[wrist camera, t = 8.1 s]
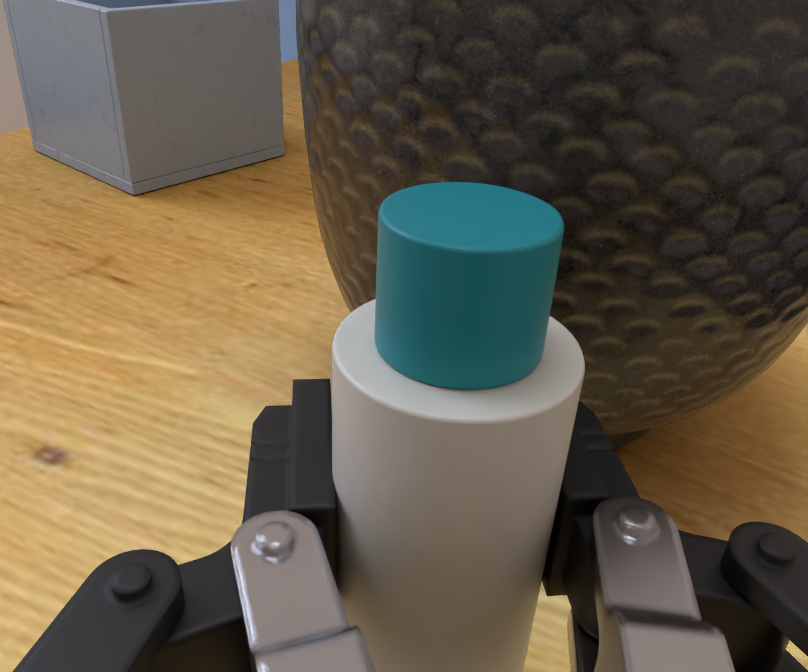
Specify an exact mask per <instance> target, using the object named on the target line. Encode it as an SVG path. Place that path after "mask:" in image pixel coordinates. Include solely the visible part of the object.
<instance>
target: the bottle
mask: <svg viewBox="0 0 808 672" xmlns="http://www.w3.org/2000/svg"><path fill="white" fill-rule="evenodd" d="M563 234H564V222H563V219H562V217H561V215H560V213H559V212H558V211H557V210H556V209H555V208H554V207H552V206H551V205H550V204H548V203H546V202H545V201H543V200H541V199H539V198H537V197H534V196H532V195H529V194H526V193H523V192H520V191H517V190H513V189H510V188H505V187H501V186H495V185H489V184H481V183H470V182H439V183H429V184H422V185H417V186H412V187H409V188H405V189H402V190H399V191H397V192H395V193H393V194H391V195H390V196H388V197H387V198H386V199H385V200H384V201H383V203H382V204H381V206H380V208H379V212H378V240H377V272H376V299H374V300H372V301H370V302H368V303H365V304H363V305H362V306H360V307H359V308H357V309H355V310H354V311H353V312H351V313H350V314H349V315H348V316H347V317H346V318H345V319H344V320H343V321H342V322H341V324H340V326H339V327H338V329H337V331H336V333H335V335H334V338H333V342H332V474H333V480H334V484H335V504H336V586H337V589H338V592H339V595H340V598H341V601H342V604H343V607H344V610H345V613H346V616H347V619H348V621H349V624H350V626H355V625H357V626H358V627H359V629H360V630H361V632H362V634H363V637H364V639H365V642H366V645H367V648H368V650H369V653H370V656H371V659H372V662H373V665H374V668H375V670H376V672H523V668H524V663H525V658H526V653H527V649H528V644H529V639H530V634H531V629H532V624H533V620H534V615H535V610H536V605H537V600H538V595H539V591H540V586H541V581H542V576H543V571H544V566H545V562H546V557H547V552H548V547H549V542H550V537H551V533H552V528H553V523H554V518H555V513H556V508H557V503H558V499H559V494H560V489H561V484H562V479H563V474H564V470H565V465H566V460H567V455H568V450H569V445H570V441H571V436H572V431H573V426H574V421H575V416H576V412H577V407H578V402H579V397H580V392H581V387H582V383H583V378H584V373H585V361H584V357H583V353H582V350H581V348H580V346H579V344H578V342H577V340H576V339H575V338H574V336H573V335H572V334H571V333H570V332H569V331H568V330H567V329H566V328H565V327H564V326H563V325H562V324H561V323H559V322H558V321H557V320H555V319H554V318H552V317H551V316H550V310H551V304H552V298H553V293H554V287H555V281H556V275H557V269H558V263H559V257H560V251H561V245H562V239H563Z"/></svg>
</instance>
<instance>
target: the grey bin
mask: <svg viewBox="0 0 808 672" xmlns="http://www.w3.org/2000/svg"><path fill="white" fill-rule="evenodd" d="M3 5H4V10H5V14H6V19H7V23H8V28H9V33H10V38H11V42H12V47H13V52H14V56H15V61H16V66H17V71H18V75H19V80H20V84H21V89H22V94H23V98H24V103H25V108H26V113H27V117H28V121H29V127H30V131H31V136H32V139H33V146H34V150H36V151H38V152H40V153H42V154H44V155H47V156H49V157H51V158H53V159H55V160H57V161H60V162H62V163H64V164H66V165H68V166H71V167H73V168H75V169H77V170H79V171H81V172H84V173H86V174H88V175H90V176H92V177H95V178H97V179H99V180H101V181H103V182H106V183H108V184H110V185H112V186H114V187H116V188H119V189H121V190H123V191H125V192H127V193H130V194H132V195H137V194H141V193H145V192H148V191H152V190H156V189H160V188H163V187H167V186H171V185H174V184H178V183H182V182H185V181H189V180H193V179H196V178H200V177H204V176H208V175H211V174H215V173H219V172H222V171H226V170H230V169H233V168H237V167H241V166H244V165H248V164H252V163H256V162H259V161H263V160H267V159H270V158H274V157H278V156H281V155H284V145H283V144H284V129H283V103H282V76H281V50H280V26H279V24H280V23H279V0H3Z"/></svg>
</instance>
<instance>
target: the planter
mask: <svg viewBox="0 0 808 672" xmlns="http://www.w3.org/2000/svg"><path fill="white" fill-rule="evenodd" d="M296 32H297V49H298V60H299V72H300V83H301V94H302V105H303V117H304V128H305V137H306V144H307V152H308V159H309V166H310V173H311V181H312V188H313V195H314V203H315V208H316V213H317V218H318V223H319V228H320V232H321V236H322V240H323V243H324V247H325V250H326V253H327V257H328V260H329V263H330V266H331V268H332V271H333V274H334V276H335V279H336V281H337V284H338V286H339V289H340V291H341V294H342V296H343V299H344V301H345V303H346V305H347V307H348V309H349V311H350V313H351V312H353V311H354V310H355V309H357V308H359V307H360V306H362V305H363V304H365V303H368V302H370V301H372V300H374V299H376V272H377V240H378V212H379V208H380V206H381V204H382V203H383V201H384V200H385V199H386V198H387V197H388V196H390V195H391V194H393V193H395V192H397V191H399V190H402V189H405V188H409V187H412V186H417V185H422V184H429V183H439V182H470V183H481V184H489V185H495V186H501V187H505V188H510V189H513V190H517V191H520V192H523V193H526V194H529V195H532V196H534V197H537V198H539V199H541V200H543V201H545V202H546V203H548V204H550V205H551V206H552V207H554V208H555V209H556V210H557V211H558V212H559V213H560V215H561V217H562V219H563V222H564V234H563V239H562V245H561V251H560V257H559V263H558V269H557V275H556V281H555V287H554V293H553V298H552V304H551V310H550V316H551V317H552V318H554V319H555V320H557V321H558V322H559V323H561V324H562V325H563V326H564V327H565V328H566V329H567V330H568V331H569V332H570V333H571V334H572V335H573V336H574V338H575V339H576V340H577V342H578V344H579V346H580V348H581V350H582V353H583V357H584V361H585V373H584V378H583V383H582V387H581V392H580V397H579V401H581V402H582V403H583V404H584V405H585V406H587V407H588V408H589V409H590V410H591V411H593V412H594V413H595V414H596V416H597V418H598V420H599V422H600V424H601V425H602V427H603V429H604V431H605V435H607V437H608V438H609V440H610V442H611V444H612V449H614V448H617V447H620V446H622V445H625V444H627V443H629V442H632V441H634V440H636V439H637V438H639V437H640V436H642V435H643V434H645V433H646V432H647V431H649V430H650V429H652V428H654V427H658V426H661V425H665V424H669V423H672V422H675V421H678V420H681V419H684V418H686V417H689V416H691V415H693V414H695V413H698V412H700V411H702V410H705V409H707V408H709V407H711V406H713V405H715V404H717V403H719V402H721V401H723V400H725V399H726V398H728V397H730V396H731V395H733V394H735V393H736V392H738V391H739V390H741V389H742V388H744V387H745V386H746V385H748V384H749V383H750V382H752V381H753V380H755V379H756V378H757V377H758V376H759V375H761V374H762V373H763V372H764V371H765V370H766V369H767V368H768V367H770V366H771V365H772V364H773V363H774V362H775V361H776V360H777V359H778V358H779V357H780V356H781V355H782V353H783V352H784V351H785V350H786V349H787V348H788V347H789V346H790V345H791V344H792V342H793V341H794V340H795V338H796V337H797V336H798V335H799V333H800V332H801V331H802V330H803V328H804V327H805V326H806V324H807V323H808V0H296Z"/></svg>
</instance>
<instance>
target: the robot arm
mask: <svg viewBox="0 0 808 672" xmlns="http://www.w3.org/2000/svg"><path fill="white" fill-rule="evenodd" d="M542 582H543V585H544V588H545V591H546V594H547V596H556V595H567V596H568V599H569V602H570V605H571V610H570V614H569V618H568V623H567V629H568V642H569V655H570V667H571V672H808V670H807V669H806V668H804V667H803V666H802V665H801V664H800V663H799V662H798V661H797V660H796V659H795V658H794V657H793V656H792V655H791V654H790V653H789V652H788V651H787V650H786V647H787V645H788V642H789V640H791V641H792V642H793V643H794V644H795V645H796V646H797V647H798V648H799V649H800V650H801V651H802V652H804V653H805V654H806V655H807V656H808V543H807V542H806V541H805V540H803V539H802V538H801V537H799V536H798V535H796V534H794V533H793V532H791V531H789V530H787V529H785V528H783V527H780V526H777V525H774V524H770V523H764V522H748V523H744V524H741V525H739V526H737V527H736V528H735V529H734V530H733V531H732V533H731V535H730V538H729V540H728V541H724V540H719V539H715V538H710V537H705V536H700V535H695V534H691V533H687V532H684V531H681V530H678V529H677V526H676V524H675V522H674V521H673V519H672V518H671V517H670V516H669V515H668V514H667V513H666V512H665V511H664V510H663V509H661V508H660V507H658V506H657V505H655V504H653V503H651V502H649V501H646V500H644V499H641V498H640V496H639V494H638V492H637V490H636V489H635V487H634V485H633V483H632V481H631V479H630V477H629V476H628V474H627V472H626V470H625V468H624V466H623V464H622V463H621V461H620V459H619V457H618V455H617V453H616V451H615V450H613V449H612V444H611V442H610V440H609V438H608V437H607V435H605V431H604V429H603V427H602V425H601V424H600V422H599V420H598V418H597V416H596V414H595V413H594V412H593V411H591V410H590V409H589V408H588V407H587V406H585V405H584V404H583V403H582V402H581V401H579V402H578V407H577V412H576V416H575V421H574V426H573V431H572V436H571V441H570V445H569V450H568V455H567V460H566V465H565V470H564V474H563V479H562V484H561V489H560V494H559V499H558V503H557V508H556V513H555V518H554V523H553V528H552V533H551V537H550V542H549V547H548V552H547V557H546V562H545V566H544V571H543V576H542ZM13 672H376V670H375V668H374V665H373V662H372V659H371V656H370V653H369V650H368V648H367V645H366V642H365V639H364V637H363V634H362V632H361V630H360V629H359V627H358V626H357V625H355V626H350V624H349V621H348V619H347V616H346V613H345V610H344V607H343V604H342V601H341V598H340V595H339V592H338V589H337V586H336V504H335V484H334V480H333V474H332V409H331V385H330V379H298V380H293V399H292V405H287V406H266V407H265V408H264V409H263V411H262V412H261V413H260V415H259V416H258V417H257V419H256V420H255V421H254V423H253V429H252V439H251V448H250V462H249V468H248V477H247V487H246V496H245V506H244V515H243V521H242V525H241V526H240V527H239V528H238V529H237V531H236V532H235V534H234V536H233V538H232V540H231V541H230V542H229V543H228V544H227V545H226V546H224V547H223V548H221V549H220V550H218V551H217V552H215V553H213V554H211V555H208V556H205V557H203V558H200V559H197V560H193V561H190V562H187V563H184V564H181V565H177V563H176V562H175V561H174V560H173V559H172V558H171V557H170V556H168V555H166V554H164V553H162V552H159V551H154V550H143V549H141V550H133V551H128V552H124V553H121V554H118V555H116V556H114V557H112V558H110V559H108V560H106V561H105V562H103V563H102V564H101V565H99V566H98V567H97V568H96V569H95V570H94V571H93V572H92V573H91V574H90V575H89V577H88V578H87V579H86V580H85V582H84V583H83V584H82V585H81V587H80V588H79V589H78V590H77V592H76V593H75V594H74V595H73V597H72V598H71V599H70V600H69V602H68V603H67V604H66V605H65V607H64V608H63V609H62V610H61V612H60V613H59V614H58V616H57V617H56V618H55V619H54V621H53V622H52V623H51V624H50V626H49V627H48V628H47V629H46V631H45V632H44V633H43V634H42V636H41V637H40V638H39V639H38V641H37V642H36V643H35V644H34V646H33V647H32V648H31V649H30V651H29V652H28V653H27V654H26V656H25V657H24V658H23V659H22V661H21V662H20V663H19V665H18V666H17V667H16V668H15V670H14V671H13Z"/></svg>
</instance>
